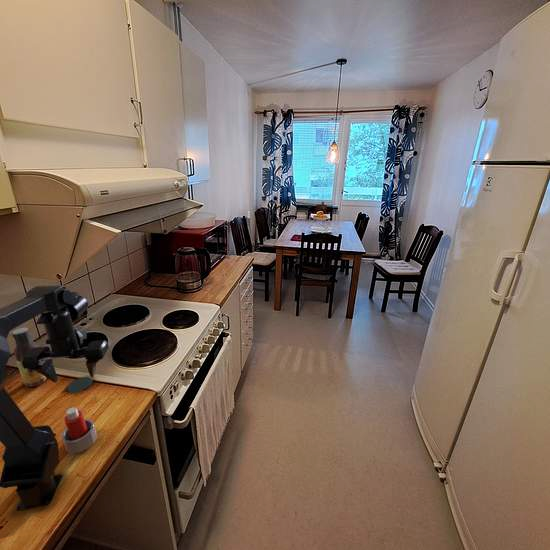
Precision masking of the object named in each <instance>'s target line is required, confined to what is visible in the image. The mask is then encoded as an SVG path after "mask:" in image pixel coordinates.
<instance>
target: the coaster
mask: <svg viewBox="0 0 550 550" xmlns="http://www.w3.org/2000/svg"><path fill="white" fill-rule="evenodd" d="M92 384H93V379H92V378H91V377H89V376H88V377H87V376H84V377H80V378H77V379H75V380H73V381H71V382H70V383H69V384H68V385H67V388H66V390H67V392H68V393H73V394H74V393H79V392H82V391H86V390H87V389H89V388H90V387H91V386H92Z"/></svg>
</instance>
